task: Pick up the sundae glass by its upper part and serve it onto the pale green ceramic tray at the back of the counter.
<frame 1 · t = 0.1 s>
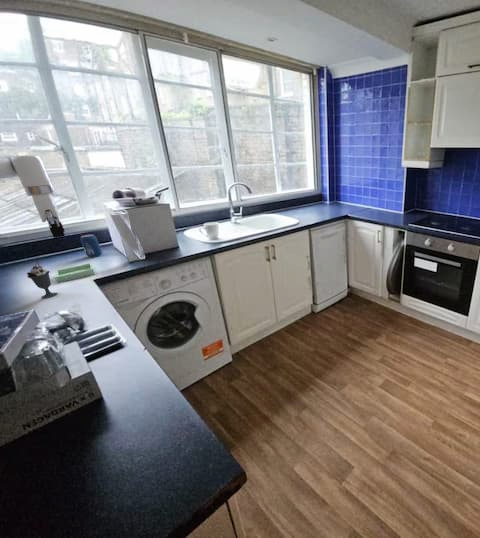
hand: (59, 234, 117), 25 cm above the table, tool pointing down, fingers open, 9 cm apart
tray: (76, 274, 144), on the table
sundae: (49, 296, 123), on the table
soda can: (95, 255, 170), on the table
skyscraper: (136, 259, 162), on the table
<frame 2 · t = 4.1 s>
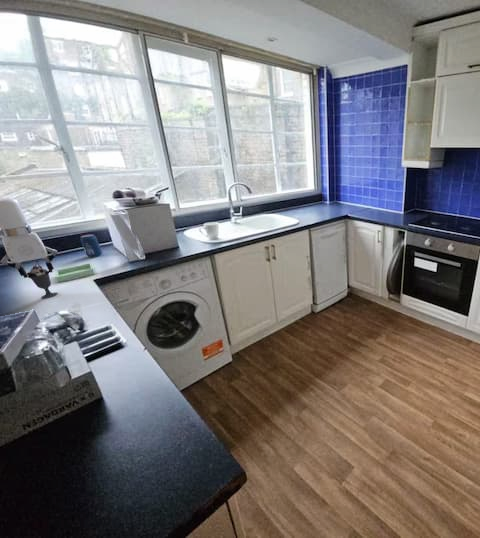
hand: (38, 273, 119), 10 cm above the table, tool pointing down, fingers closed on sundae, 6 cm apart
sundae: (49, 296, 123), on the table, touching gripper
everything else where it was.
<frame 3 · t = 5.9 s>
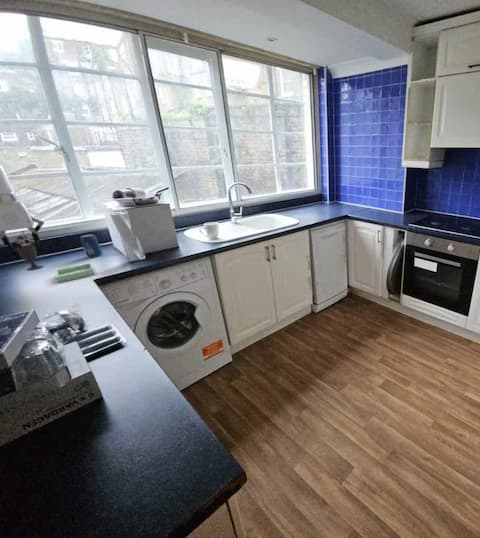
hand: (23, 244, 115), 22 cm above the table, tool pointing down, fingers closed on sundae, 6 cm apart
sundae: (35, 268, 119), point 12 cm above the table, touching gripper
everything else where it was.
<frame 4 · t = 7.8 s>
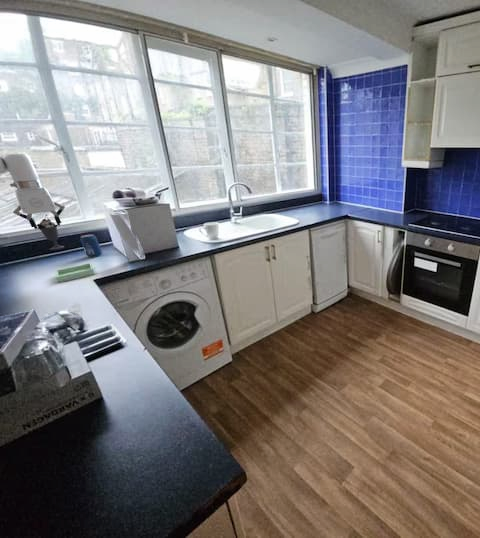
hand: (47, 226, 130), 25 cm above the table, tool pointing down, fingers closed on sundae, 6 cm apart
sundae: (57, 248, 134), point 15 cm above the table, touching gripper
everything else where it was.
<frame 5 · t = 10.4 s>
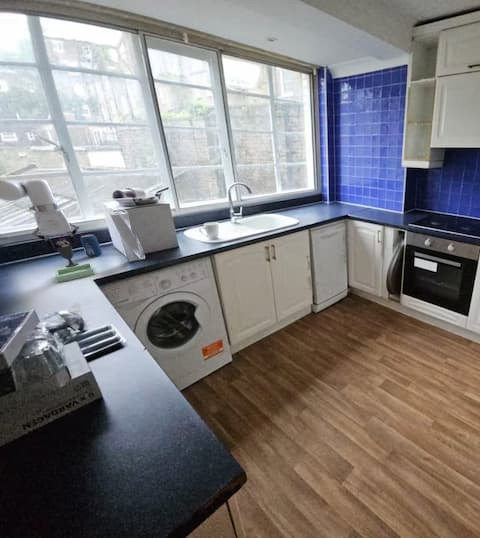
hand: (63, 245, 138), 15 cm above the table, tool pointing down, fingers closed on sundae, 6 cm apart
sundae: (72, 265, 142), point 5 cm above the table, touching gripper
everything else where it was.
when the fingers open (11 cm above the table, at t = 12.0 s): sundae stays where it is, resting on tray.
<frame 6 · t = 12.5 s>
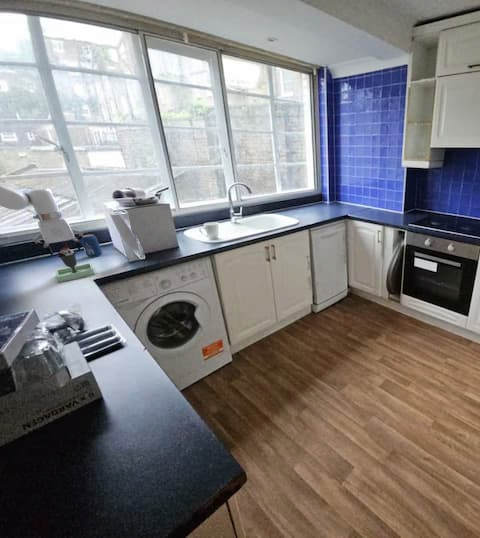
hand: (66, 252, 139), 12 cm above the table, tool pointing down, fingers open, 9 cm apart
sundae: (75, 274, 144), resting on tray
everything else where it was.
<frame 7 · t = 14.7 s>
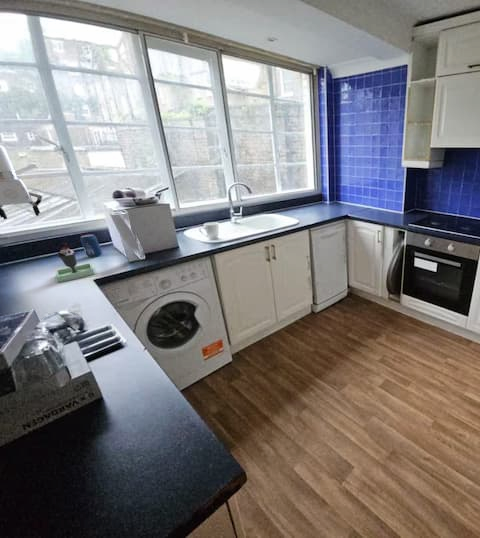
hand: (22, 217, 129), 30 cm above the table, tool pointing down, fingers open, 9 cm apart
nothing on the table moved.
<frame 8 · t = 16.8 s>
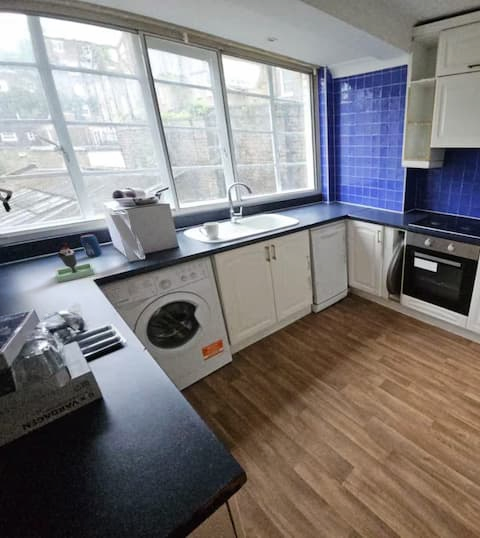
nothing on the table moved.
at the end: sundae 0.1 cm off-centre in the tray, point 0.4 cm above the tray's base; sundae tilted 0°; the gripper is holding nothing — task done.
